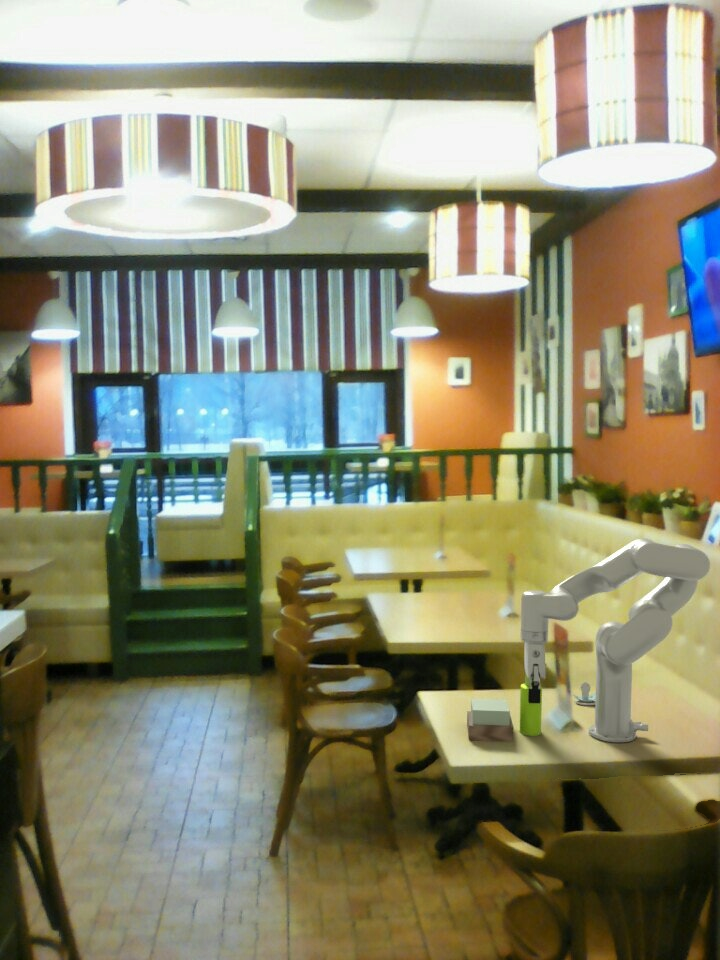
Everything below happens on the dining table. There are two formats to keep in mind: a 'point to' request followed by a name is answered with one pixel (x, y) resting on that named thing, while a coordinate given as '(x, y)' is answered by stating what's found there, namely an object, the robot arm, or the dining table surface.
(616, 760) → the dining table surface
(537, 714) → the soap dispenser
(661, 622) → the robot arm
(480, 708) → the pale green square tile
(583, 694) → the pacifier
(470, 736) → the riser base
